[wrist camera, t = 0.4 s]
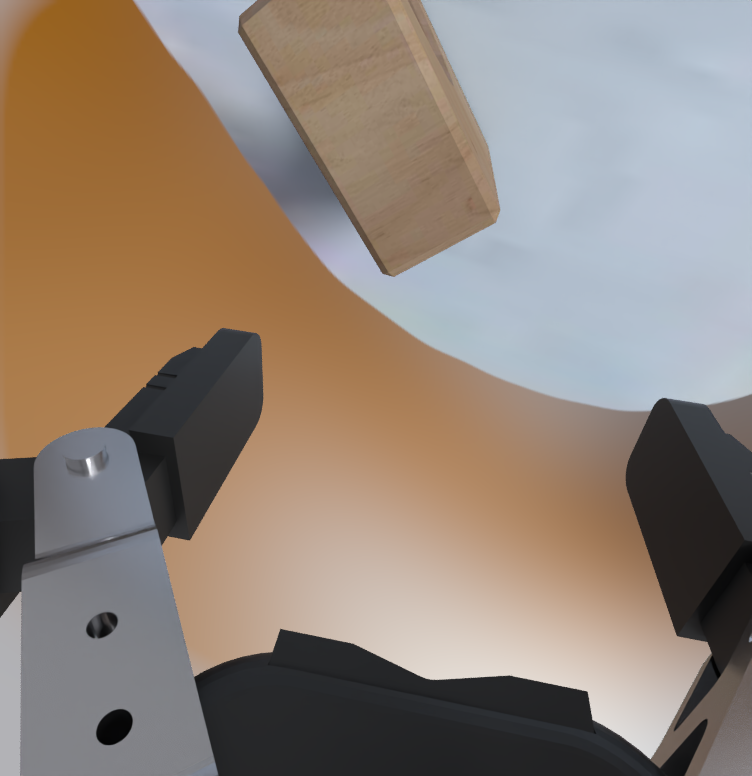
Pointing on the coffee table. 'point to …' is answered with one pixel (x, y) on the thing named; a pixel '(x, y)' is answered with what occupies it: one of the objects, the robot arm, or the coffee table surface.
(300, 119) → the decorative block
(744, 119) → the coffee table surface
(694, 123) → the coffee table surface
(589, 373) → the coffee table surface
